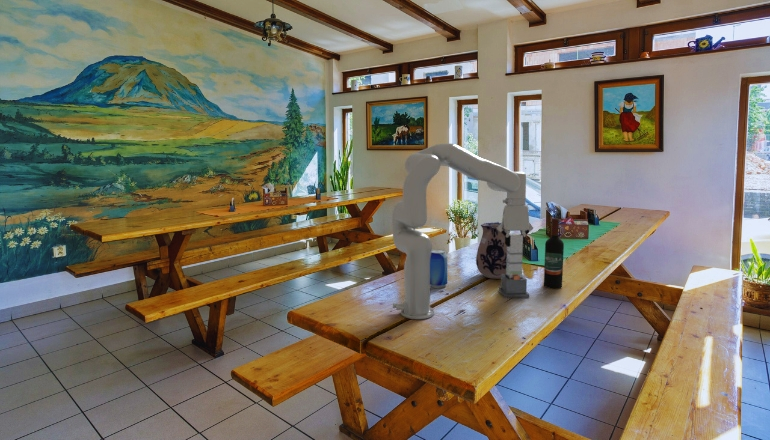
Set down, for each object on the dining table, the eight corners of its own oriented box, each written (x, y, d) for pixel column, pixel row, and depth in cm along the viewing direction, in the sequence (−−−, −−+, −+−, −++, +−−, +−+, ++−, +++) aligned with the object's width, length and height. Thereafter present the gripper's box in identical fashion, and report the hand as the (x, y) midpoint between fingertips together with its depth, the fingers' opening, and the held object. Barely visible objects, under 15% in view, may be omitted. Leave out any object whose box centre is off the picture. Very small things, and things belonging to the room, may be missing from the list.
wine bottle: (564, 285, 203) (567, 218, 198) (557, 289, 197) (560, 221, 192) (548, 282, 208) (550, 216, 203) (540, 286, 203) (543, 219, 197)
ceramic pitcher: (476, 281, 212) (477, 228, 207) (475, 268, 232) (475, 220, 228) (515, 282, 209) (517, 228, 204) (511, 269, 229) (512, 220, 225)
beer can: (450, 284, 208) (450, 249, 206) (442, 289, 201) (442, 254, 199) (433, 281, 213) (433, 248, 210) (425, 286, 206) (424, 251, 203)
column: (509, 278, 190) (510, 235, 187) (505, 275, 195) (506, 233, 192) (522, 278, 190) (523, 235, 187) (518, 274, 195) (519, 233, 192)
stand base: (504, 298, 189) (505, 277, 187) (498, 290, 198) (498, 270, 197) (529, 297, 189) (529, 276, 187) (521, 289, 199) (522, 269, 197)
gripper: (497, 204, 183) (496, 248, 186) (539, 203, 183) (538, 247, 186) (492, 201, 191) (491, 244, 194) (533, 200, 191) (532, 243, 194)
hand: (514, 245), depth 190 cm, fingers closed on column, 5 cm apart
